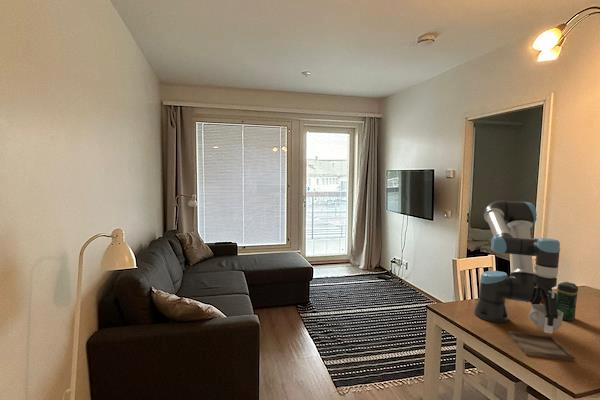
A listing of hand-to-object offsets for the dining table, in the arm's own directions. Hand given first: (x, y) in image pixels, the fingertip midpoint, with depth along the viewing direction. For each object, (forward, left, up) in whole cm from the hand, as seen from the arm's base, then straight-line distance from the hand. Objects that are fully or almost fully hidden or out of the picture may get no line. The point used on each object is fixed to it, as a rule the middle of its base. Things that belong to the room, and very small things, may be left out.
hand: (541, 326), depth 135 cm
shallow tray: (0, 0, -9) cm, 9 cm away
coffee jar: (-38, +28, -10) cm, 49 cm away
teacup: (+1, 0, 0) cm, 1 cm away
